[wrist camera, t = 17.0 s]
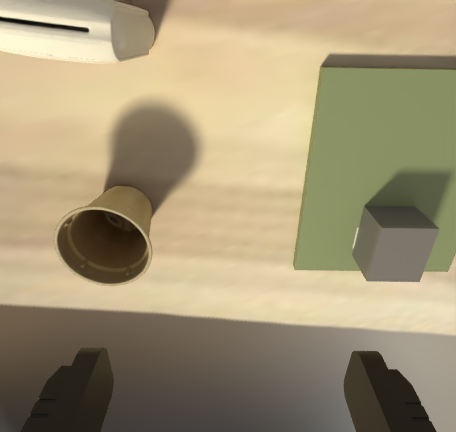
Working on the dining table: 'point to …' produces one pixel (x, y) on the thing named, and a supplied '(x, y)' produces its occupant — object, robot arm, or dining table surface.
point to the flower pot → (107, 238)
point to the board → (378, 159)
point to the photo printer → (75, 30)
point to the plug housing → (393, 243)
